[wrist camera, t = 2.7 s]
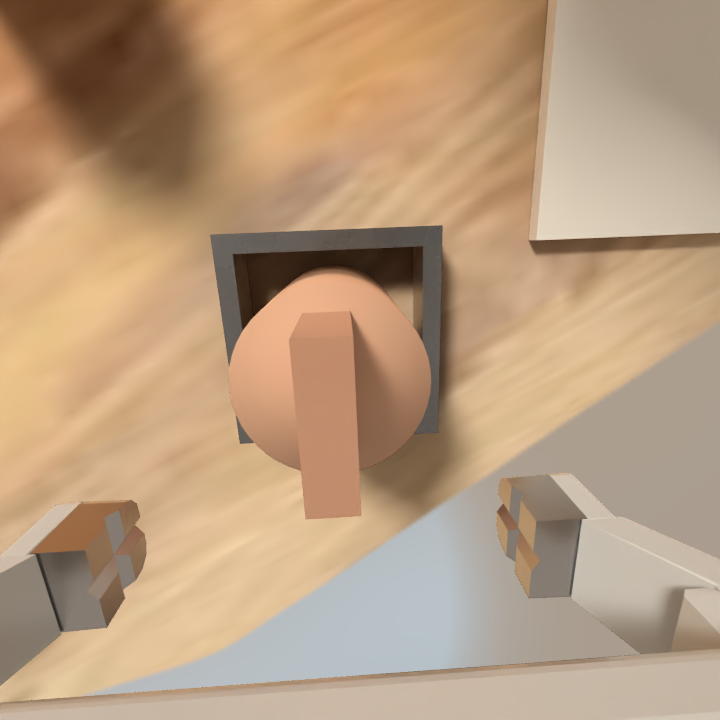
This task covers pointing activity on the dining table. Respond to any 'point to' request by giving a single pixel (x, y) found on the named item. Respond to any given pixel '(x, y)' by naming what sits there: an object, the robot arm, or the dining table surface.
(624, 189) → the tile
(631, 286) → the dining table surface
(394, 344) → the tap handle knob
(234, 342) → the holder
